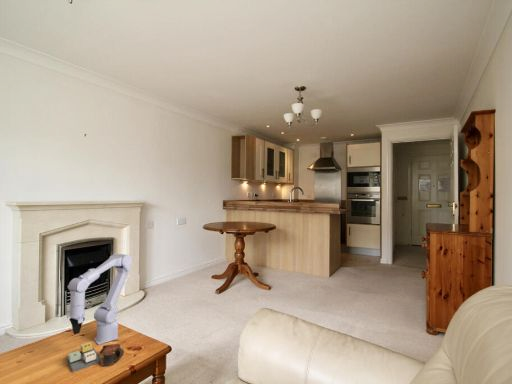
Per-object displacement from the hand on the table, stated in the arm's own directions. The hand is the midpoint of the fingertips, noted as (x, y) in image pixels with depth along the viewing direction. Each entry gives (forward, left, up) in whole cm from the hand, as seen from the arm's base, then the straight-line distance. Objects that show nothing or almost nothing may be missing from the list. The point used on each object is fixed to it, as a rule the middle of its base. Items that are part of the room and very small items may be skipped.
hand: (76, 333), depth 131 cm
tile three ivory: (-3, +12, -8) cm, 14 cm away
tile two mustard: (-4, +4, -7) cm, 9 cm away
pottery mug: (-11, +16, -10) cm, 22 cm away
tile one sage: (+2, +7, -8) cm, 11 cm away
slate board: (-2, +8, -10) cm, 13 cm away
